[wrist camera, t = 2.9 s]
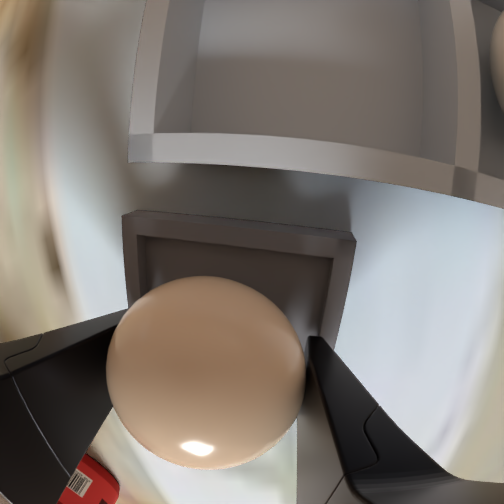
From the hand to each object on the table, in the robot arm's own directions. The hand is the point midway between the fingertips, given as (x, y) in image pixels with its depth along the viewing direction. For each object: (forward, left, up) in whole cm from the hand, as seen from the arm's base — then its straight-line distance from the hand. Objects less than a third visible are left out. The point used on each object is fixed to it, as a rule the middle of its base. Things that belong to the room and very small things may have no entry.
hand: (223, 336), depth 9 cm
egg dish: (0, 0, -1) cm, 1 cm away
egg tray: (-5, -15, -1) cm, 16 cm away
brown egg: (0, 0, +2) cm, 2 cm away
